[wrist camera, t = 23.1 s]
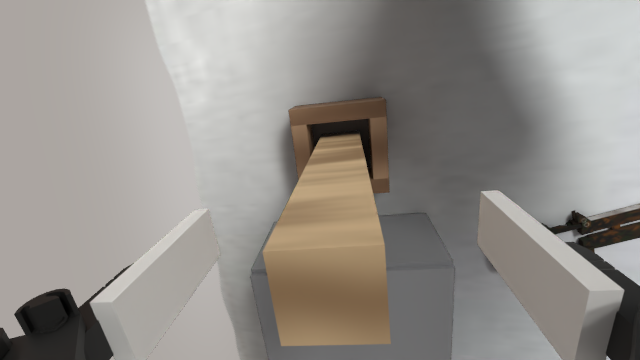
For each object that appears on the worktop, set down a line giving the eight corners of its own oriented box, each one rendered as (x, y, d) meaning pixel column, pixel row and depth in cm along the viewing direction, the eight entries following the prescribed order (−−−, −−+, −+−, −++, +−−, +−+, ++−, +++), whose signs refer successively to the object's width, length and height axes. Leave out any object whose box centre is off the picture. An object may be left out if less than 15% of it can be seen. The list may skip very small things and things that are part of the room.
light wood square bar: (321, 134, 33) (262, 251, 10) (358, 130, 32) (384, 244, 9) (326, 169, 34) (281, 346, 11) (361, 166, 33) (390, 344, 11)
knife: (740, 175, 31) (758, 179, 30) (732, 229, 33) (748, 235, 32) (484, 225, 35) (490, 231, 34) (490, 271, 37) (496, 278, 36)
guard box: (274, 222, 37) (249, 272, 27) (425, 212, 35) (455, 264, 25) (303, 386, 46) (292, 467, 36) (425, 387, 44) (446, 472, 34)
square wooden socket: (295, 106, 32) (288, 110, 28) (381, 96, 31) (385, 100, 27) (305, 185, 35) (300, 198, 31) (384, 179, 34) (389, 192, 30)
